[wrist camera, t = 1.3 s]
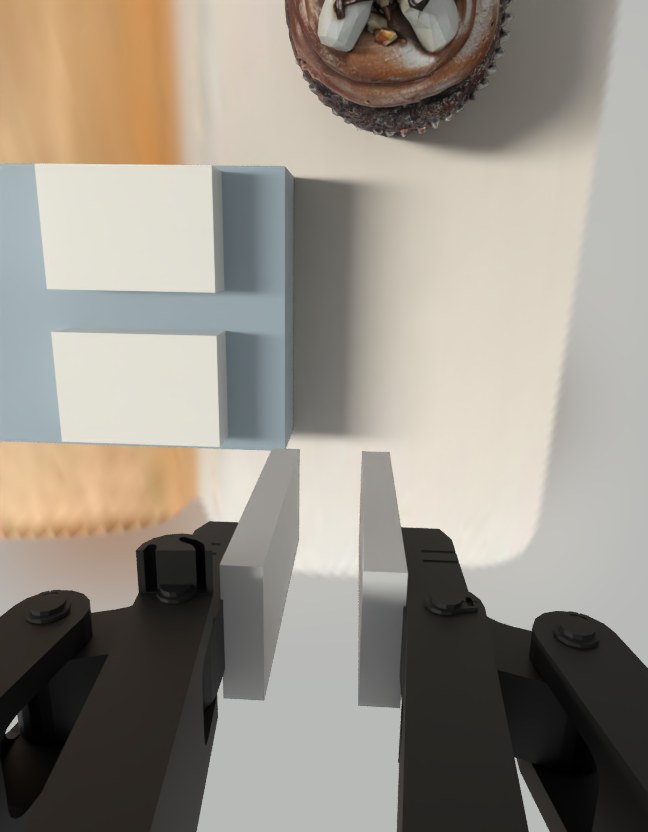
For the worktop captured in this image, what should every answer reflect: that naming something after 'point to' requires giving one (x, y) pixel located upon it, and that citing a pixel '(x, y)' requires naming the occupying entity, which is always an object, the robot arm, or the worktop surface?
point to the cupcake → (397, 57)
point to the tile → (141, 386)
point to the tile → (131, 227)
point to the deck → (158, 310)
